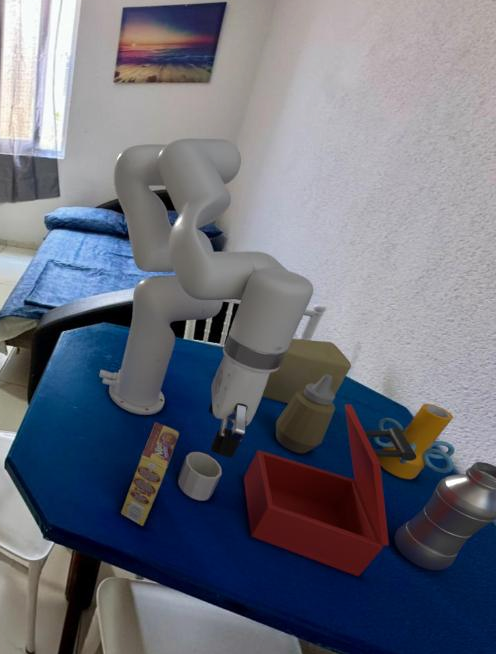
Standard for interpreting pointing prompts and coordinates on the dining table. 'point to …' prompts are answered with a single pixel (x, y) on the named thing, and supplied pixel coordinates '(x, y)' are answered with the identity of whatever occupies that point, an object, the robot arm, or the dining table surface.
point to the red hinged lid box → (310, 513)
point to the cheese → (306, 369)
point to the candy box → (150, 473)
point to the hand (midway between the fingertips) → (219, 432)
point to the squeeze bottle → (306, 417)
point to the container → (199, 476)
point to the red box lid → (373, 467)
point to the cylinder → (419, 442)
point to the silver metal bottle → (450, 518)
